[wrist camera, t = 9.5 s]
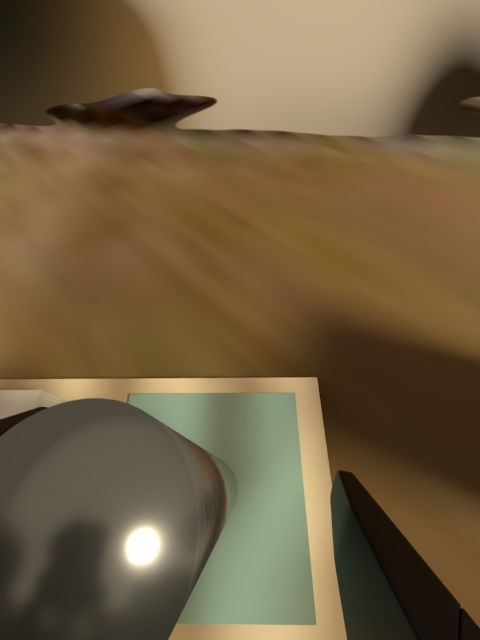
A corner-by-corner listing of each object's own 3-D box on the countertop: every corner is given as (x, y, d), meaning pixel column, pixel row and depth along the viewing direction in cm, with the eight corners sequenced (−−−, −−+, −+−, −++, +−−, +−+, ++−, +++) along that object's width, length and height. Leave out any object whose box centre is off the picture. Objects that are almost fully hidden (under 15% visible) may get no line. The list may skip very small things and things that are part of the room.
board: (-212, 636, 13) (-377, 695, 10) (-74, 384, 19) (-147, 363, 16) (347, 644, 13) (385, 708, 9) (313, 382, 18) (329, 360, 15)
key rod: (183, 539, 14) (-138, 846, 2) (169, 469, 15) (-66, 443, 4) (245, 514, 14) (233, 666, 3) (226, 447, 16) (166, 368, 4)
